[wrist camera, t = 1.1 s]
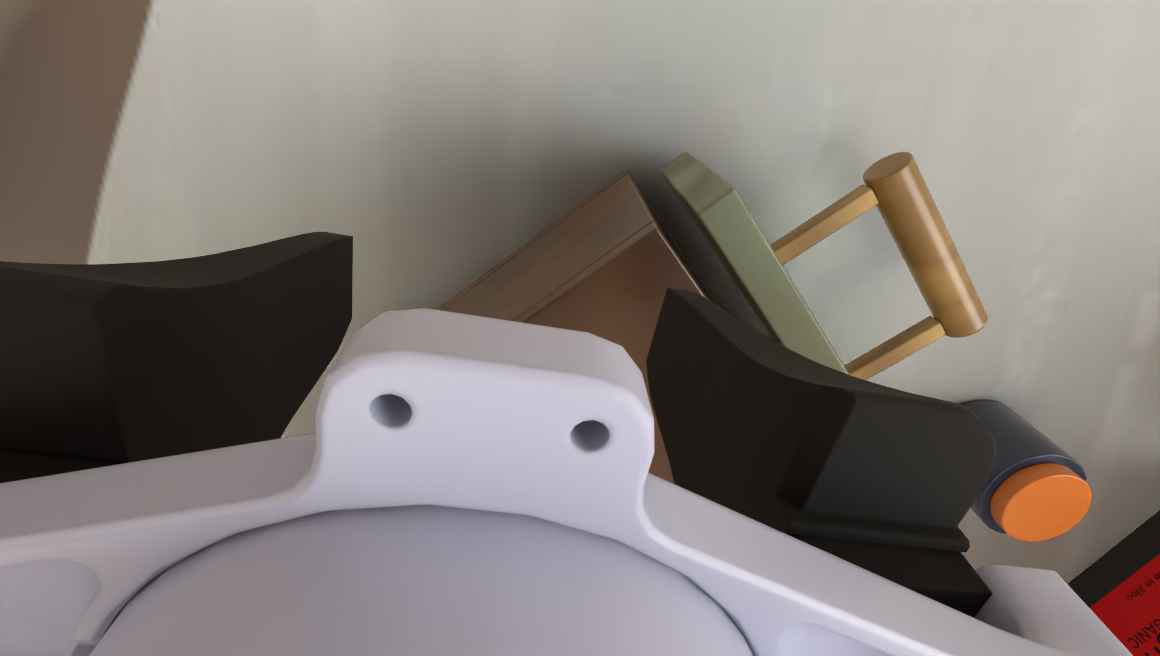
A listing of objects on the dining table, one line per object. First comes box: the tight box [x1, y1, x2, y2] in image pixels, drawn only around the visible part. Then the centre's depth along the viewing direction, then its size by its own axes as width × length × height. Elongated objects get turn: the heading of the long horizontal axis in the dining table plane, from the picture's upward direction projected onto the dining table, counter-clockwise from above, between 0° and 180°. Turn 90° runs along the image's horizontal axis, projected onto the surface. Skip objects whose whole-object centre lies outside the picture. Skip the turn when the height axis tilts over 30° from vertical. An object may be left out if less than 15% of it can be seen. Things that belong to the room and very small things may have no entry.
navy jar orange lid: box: [962, 400, 1092, 542], centre depth 26 cm, size 4×4×5 cm
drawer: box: [660, 152, 987, 380], centre depth 21 cm, size 18×12×7 cm, turn 126°
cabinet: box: [438, 171, 720, 484], centre depth 23 cm, size 14×13×8 cm
